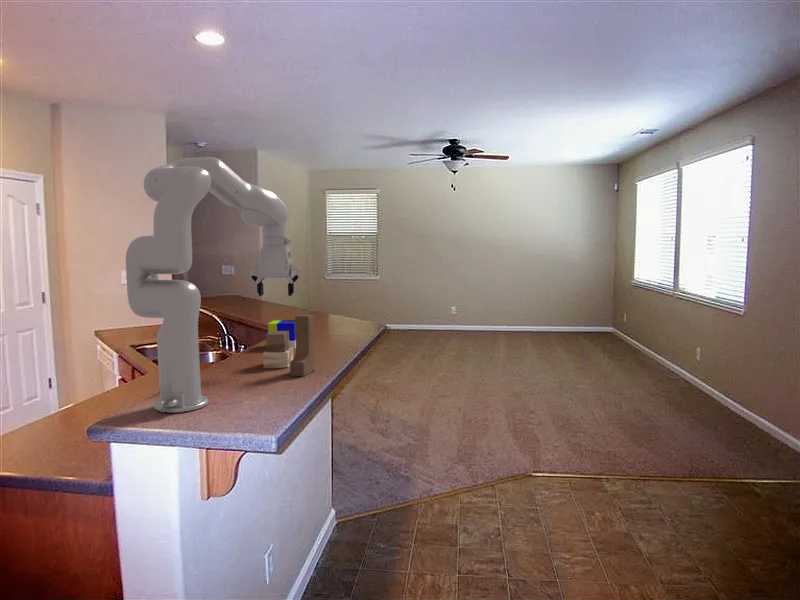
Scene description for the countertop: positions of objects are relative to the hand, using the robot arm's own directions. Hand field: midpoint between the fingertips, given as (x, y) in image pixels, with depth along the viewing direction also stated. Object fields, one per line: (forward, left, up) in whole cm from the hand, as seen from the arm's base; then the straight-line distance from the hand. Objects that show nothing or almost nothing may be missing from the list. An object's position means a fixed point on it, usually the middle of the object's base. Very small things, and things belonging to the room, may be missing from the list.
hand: (275, 295), depth 181 cm
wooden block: (-11, -11, -24) cm, 28 cm away
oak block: (0, 0, -23) cm, 23 cm away
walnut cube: (0, 0, -18) cm, 18 cm away
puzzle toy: (+33, +6, -24) cm, 41 cm away
